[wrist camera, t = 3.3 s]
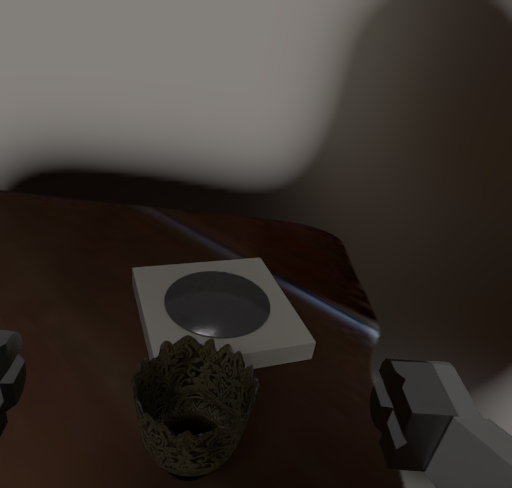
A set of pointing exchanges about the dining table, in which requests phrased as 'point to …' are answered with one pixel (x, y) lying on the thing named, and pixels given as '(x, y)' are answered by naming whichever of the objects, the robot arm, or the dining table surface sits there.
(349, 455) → the dining table surface
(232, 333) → the display tile
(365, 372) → the dining table surface
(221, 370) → the cup
